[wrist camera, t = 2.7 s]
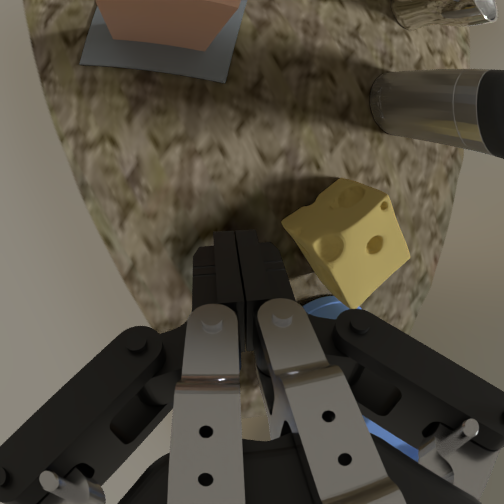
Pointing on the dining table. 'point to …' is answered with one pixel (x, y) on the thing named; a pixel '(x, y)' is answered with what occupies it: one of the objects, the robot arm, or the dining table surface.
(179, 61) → the mat
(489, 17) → the beer glass
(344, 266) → the cheese
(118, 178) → the dining table surface
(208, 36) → the tile
